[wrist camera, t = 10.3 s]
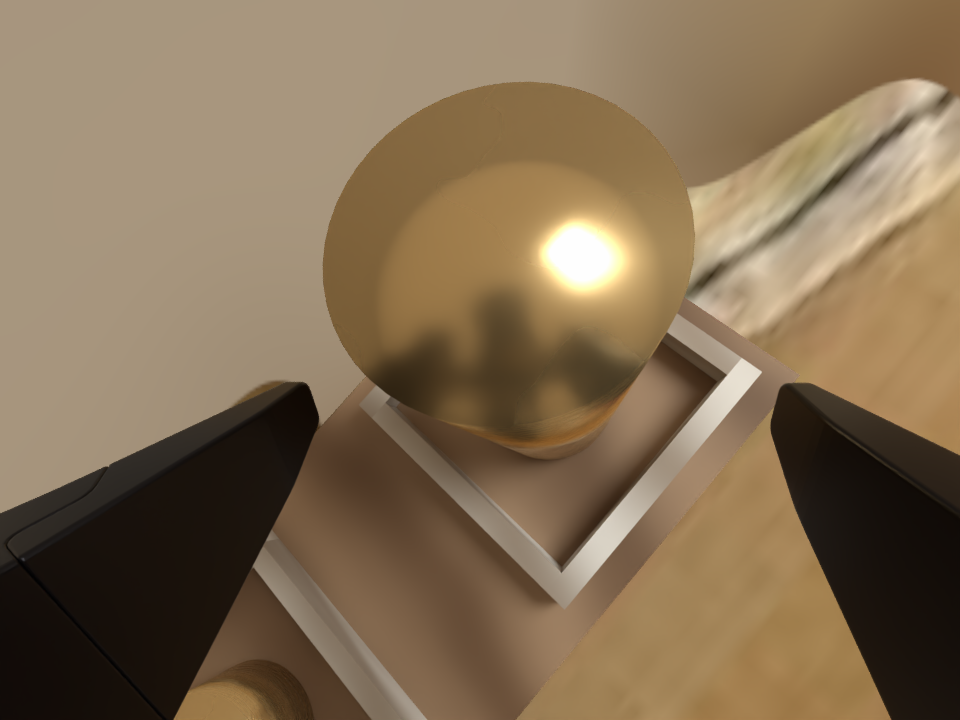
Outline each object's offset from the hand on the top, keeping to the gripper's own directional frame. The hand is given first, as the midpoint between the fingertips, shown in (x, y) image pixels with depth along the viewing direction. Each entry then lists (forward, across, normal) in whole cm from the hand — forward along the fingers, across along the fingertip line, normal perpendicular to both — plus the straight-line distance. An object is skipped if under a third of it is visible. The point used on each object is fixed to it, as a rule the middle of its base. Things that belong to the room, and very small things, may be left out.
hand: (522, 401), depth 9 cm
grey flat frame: (+5, +6, +11) cm, 13 cm away
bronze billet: (+8, 0, +6) cm, 10 cm away
